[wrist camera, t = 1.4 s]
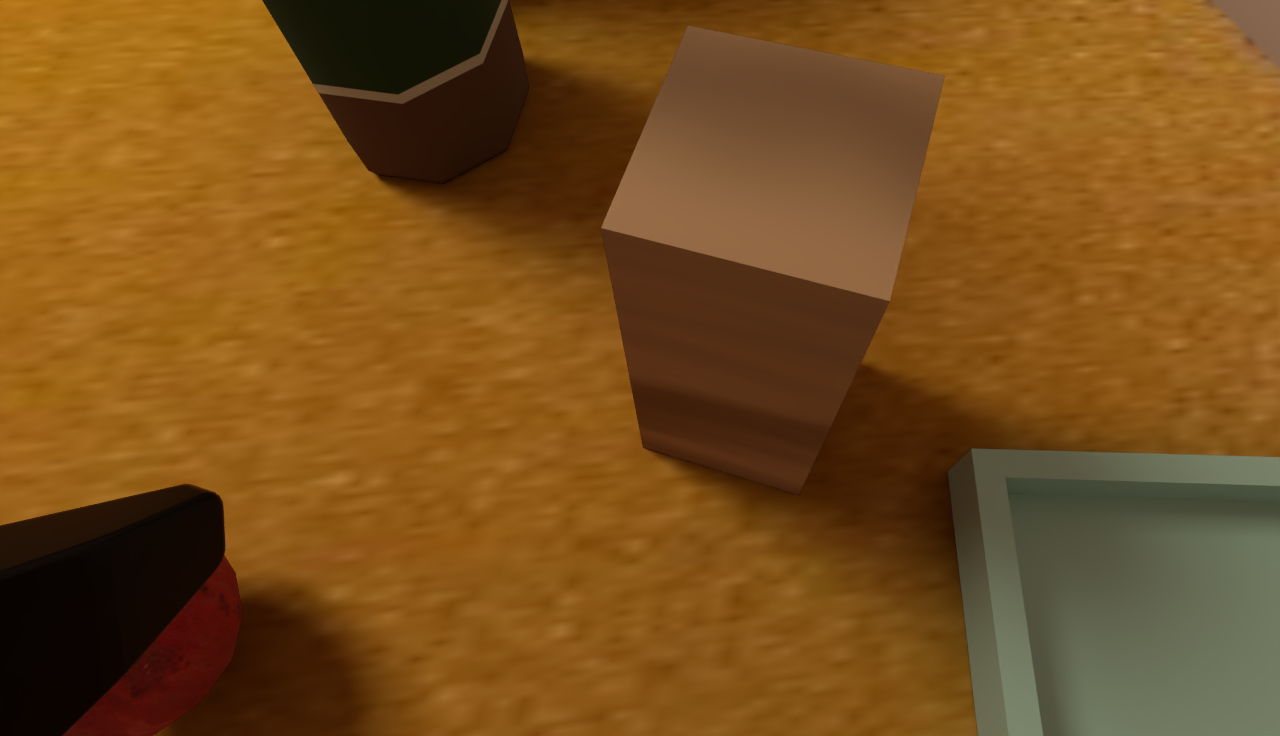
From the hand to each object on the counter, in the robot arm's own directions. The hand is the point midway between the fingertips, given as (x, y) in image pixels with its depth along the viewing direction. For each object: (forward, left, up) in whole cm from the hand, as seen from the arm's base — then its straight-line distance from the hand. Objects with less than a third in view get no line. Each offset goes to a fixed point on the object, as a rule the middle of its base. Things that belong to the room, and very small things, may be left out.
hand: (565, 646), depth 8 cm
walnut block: (+9, -3, -14) cm, 17 cm away
